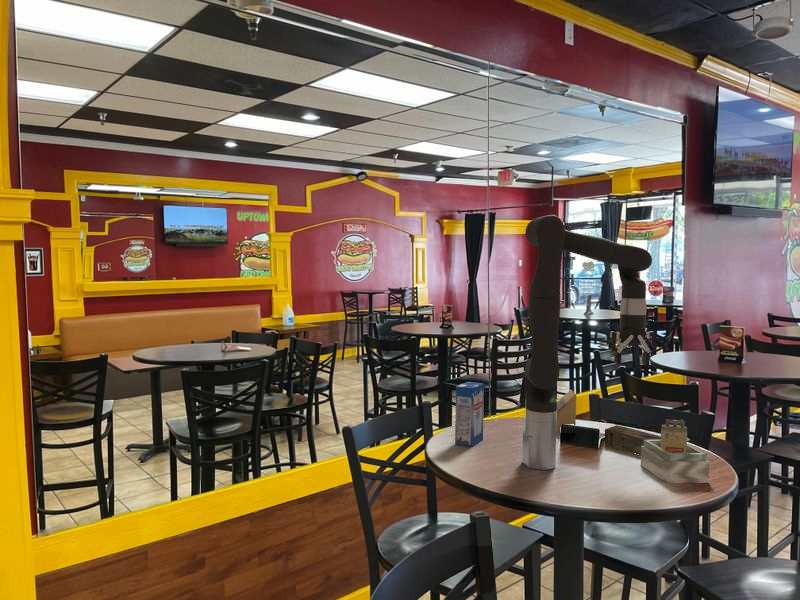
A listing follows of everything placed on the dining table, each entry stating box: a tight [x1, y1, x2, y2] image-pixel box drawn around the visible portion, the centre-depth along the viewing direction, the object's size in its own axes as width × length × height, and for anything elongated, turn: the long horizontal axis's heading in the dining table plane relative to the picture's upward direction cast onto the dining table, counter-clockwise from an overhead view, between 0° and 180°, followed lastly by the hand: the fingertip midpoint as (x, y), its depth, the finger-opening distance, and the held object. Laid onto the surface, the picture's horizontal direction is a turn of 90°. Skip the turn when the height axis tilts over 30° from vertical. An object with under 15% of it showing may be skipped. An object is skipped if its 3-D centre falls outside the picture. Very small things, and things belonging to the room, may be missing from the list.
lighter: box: [660, 418, 688, 453], centre depth 164 cm, size 7×4×10 cm, turn 79°
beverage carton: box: [604, 424, 661, 456], centre depth 186 cm, size 8×19×7 cm, turn 39°
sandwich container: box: [556, 389, 577, 433], centre depth 209 cm, size 9×15×15 cm, turn 86°
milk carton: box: [454, 381, 485, 448], centre depth 193 cm, size 10×6×20 cm, turn 150°
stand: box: [640, 440, 710, 484], centre depth 164 cm, size 12×15×8 cm
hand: (631, 364), depth 175 cm, fingers open, 8 cm apart
